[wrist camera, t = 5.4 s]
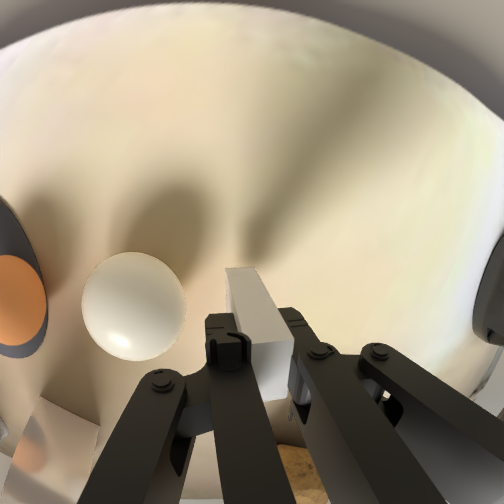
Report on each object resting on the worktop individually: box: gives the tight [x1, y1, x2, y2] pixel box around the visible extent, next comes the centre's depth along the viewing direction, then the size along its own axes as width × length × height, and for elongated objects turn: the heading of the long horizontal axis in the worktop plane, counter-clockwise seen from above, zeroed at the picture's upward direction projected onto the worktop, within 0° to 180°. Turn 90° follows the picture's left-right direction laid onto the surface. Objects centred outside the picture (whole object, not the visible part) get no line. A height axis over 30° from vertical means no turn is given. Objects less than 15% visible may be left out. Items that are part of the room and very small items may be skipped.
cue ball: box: [82, 252, 187, 361], centre depth 12 cm, size 6×6×6 cm
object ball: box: [0, 255, 46, 345], centre depth 11 cm, size 6×6×6 cm
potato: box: [277, 445, 329, 504], centre depth 19 cm, size 10×14×8 cm
